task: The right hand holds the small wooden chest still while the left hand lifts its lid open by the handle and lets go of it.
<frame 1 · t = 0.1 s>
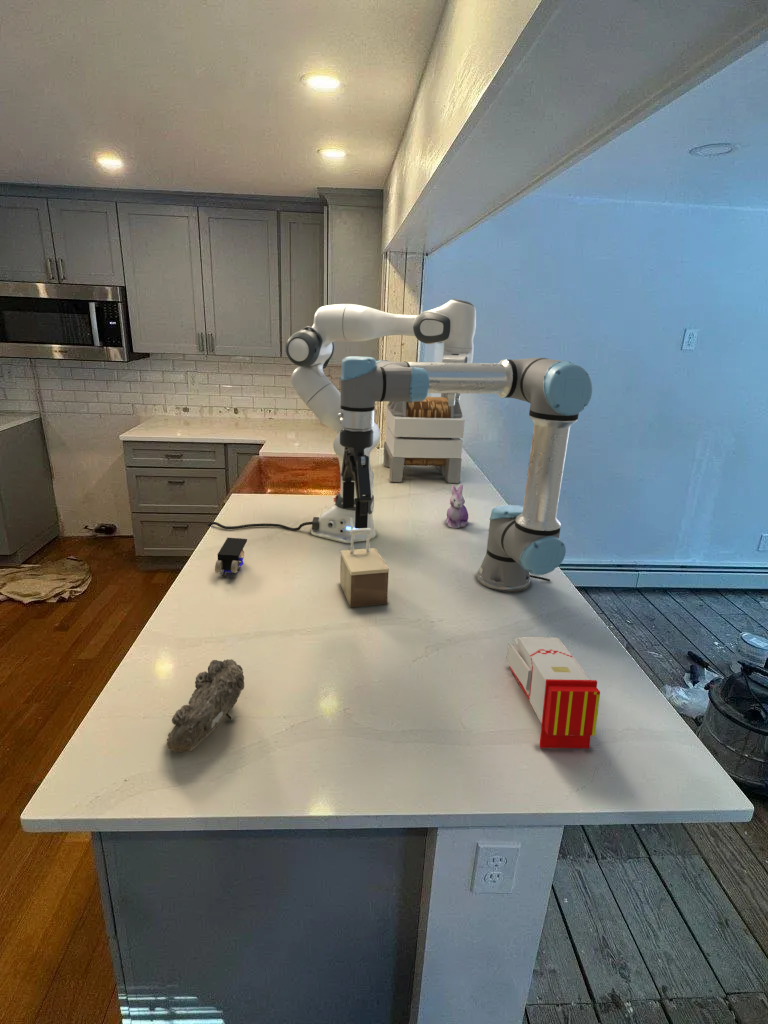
left hand: (453, 403, 174), 48 cm above the counter, tool pointing down, fingers open, 8 cm apart
right hand: (354, 517, 134), 28 cm above the counter, tool pointing down, fingers open, 13 cm apart
chest: (362, 593, 157), on the counter
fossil: (212, 717, 108), on the counter
figurine character: (232, 569, 168), on the counter
figurine: (456, 524, 211), on the counter
toy: (542, 700, 117), on the counter
transformer: (419, 473, 275), on the counter
lid: (364, 549, 153), point 13 cm above the counter, hinge at 0.0°
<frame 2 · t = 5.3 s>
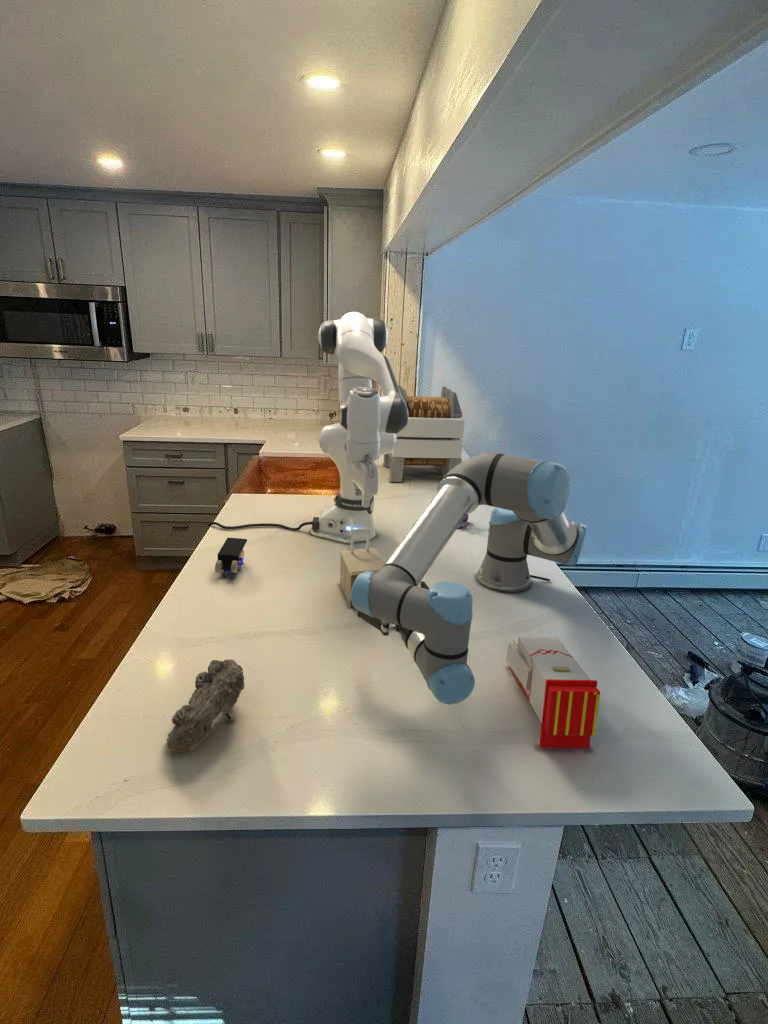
left hand: (361, 500, 153), 26 cm above the counter, tool pointing down, fingers open, 8 cm apart
right hand: (393, 589, 127), 16 cm above the counter, tool horizontal, fingers open, 13 cm apart
nothing on the counter moved.
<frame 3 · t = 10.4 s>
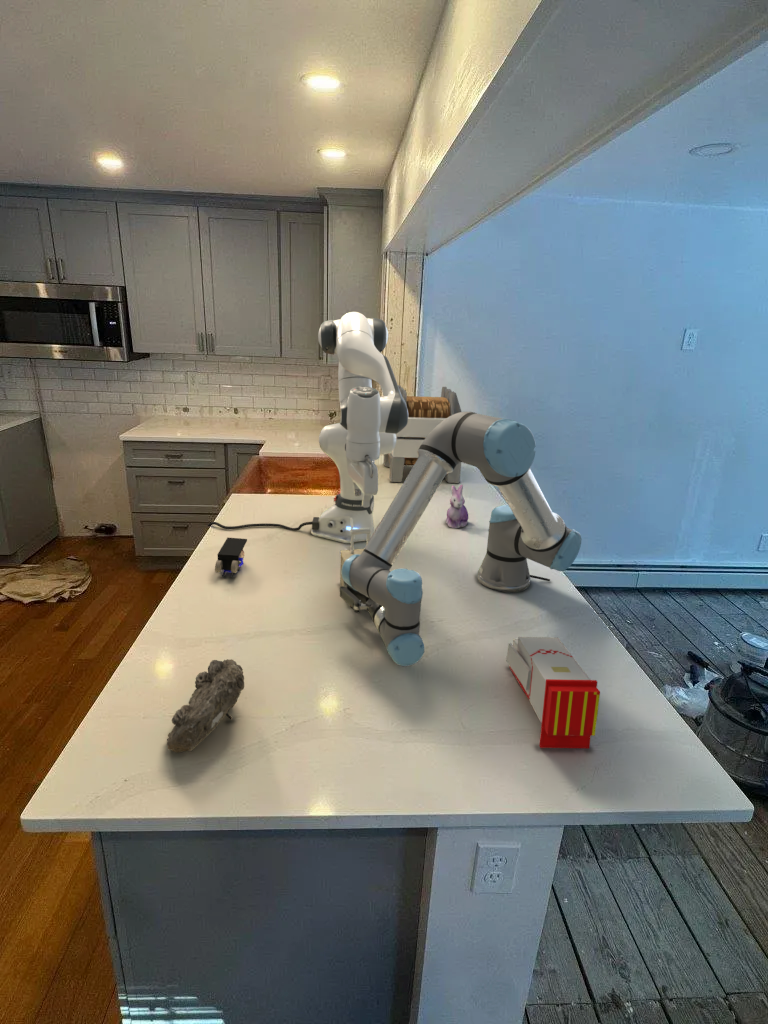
left hand: (361, 500, 153), 26 cm above the counter, tool pointing down, fingers open, 8 cm apart
right hand: (366, 575, 152), 7 cm above the counter, tool horizontal, fingers closed on chest, 10 cm apart
chest: (362, 593, 157), on the counter, touching right hand
everything else where it was.
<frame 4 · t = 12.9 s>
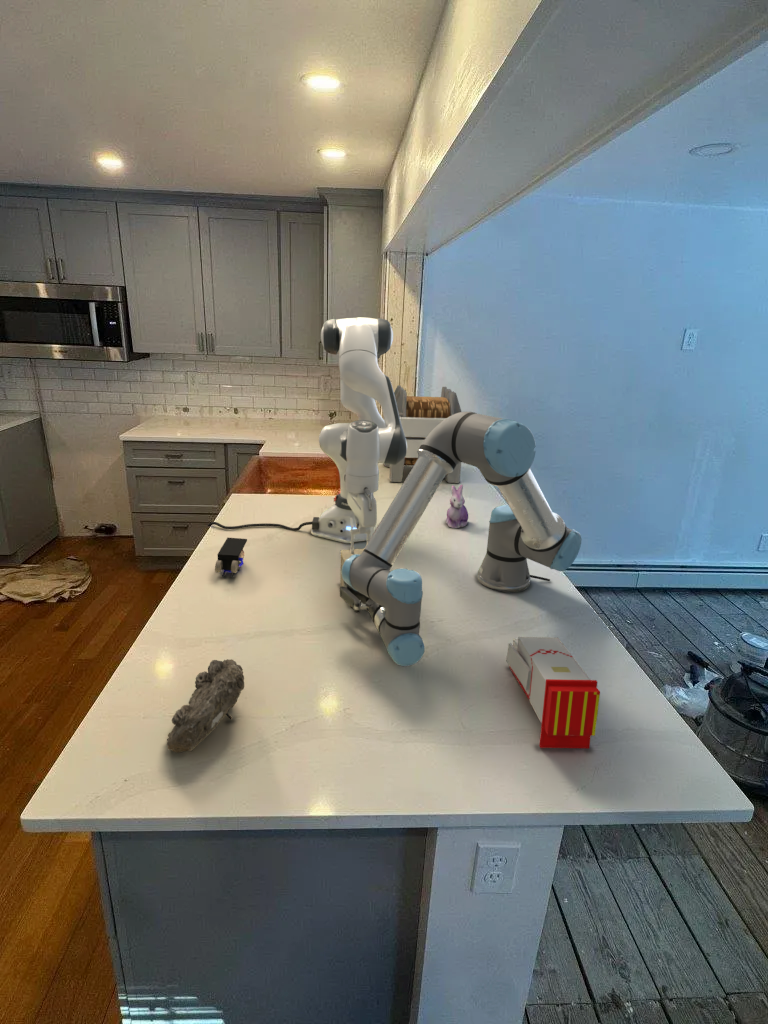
left hand: (360, 530, 156), 17 cm above the counter, tool pointing down, fingers closed on lid, 2 cm apart
right hand: (366, 575, 152), 7 cm above the counter, tool horizontal, fingers closed on chest, 10 cm apart
chest: (362, 593, 157), on the counter, touching right hand
lid: (364, 548, 153), point 13 cm above the counter, hinge at 0.4°, touching left hand
everything else where it was.
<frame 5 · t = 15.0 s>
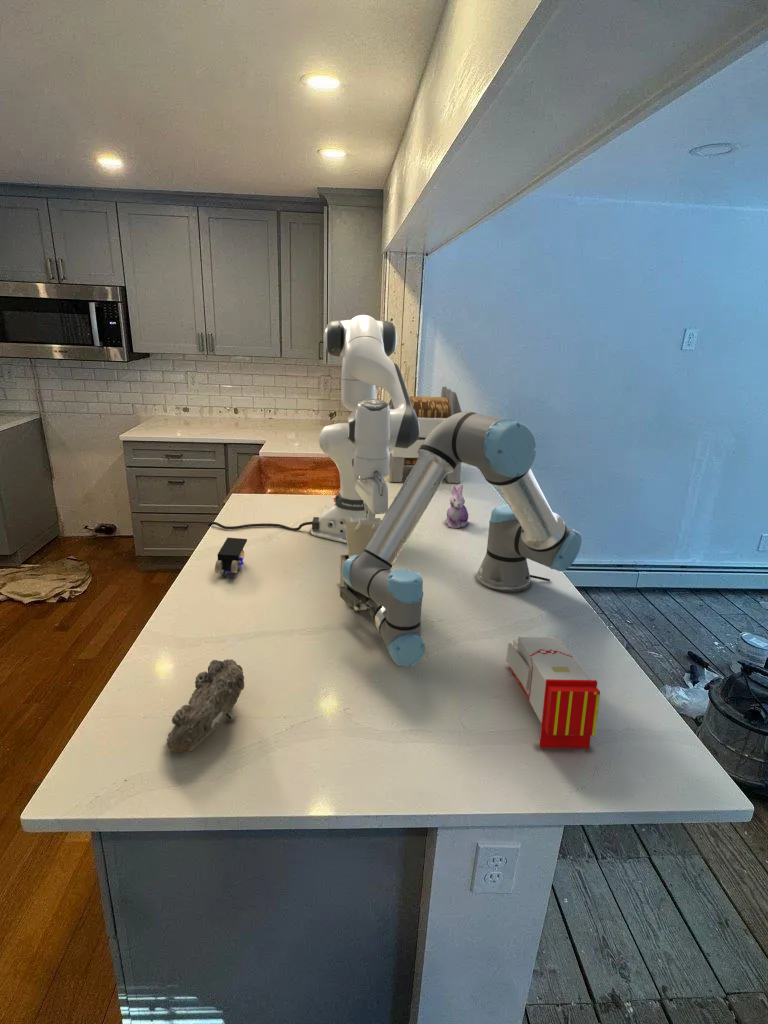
left hand: (369, 519, 145), 24 cm above the counter, tool pointing down, fingers closed, pressing on lid
right hand: (366, 575, 152), 7 cm above the counter, tool horizontal, fingers closed on chest, 10 cm apart
chest: (362, 594, 157), on the counter, touching right hand
lid: (369, 542, 147), point 18 cm above the counter, hinge at 50.3°, touching left hand
everything else where it was.
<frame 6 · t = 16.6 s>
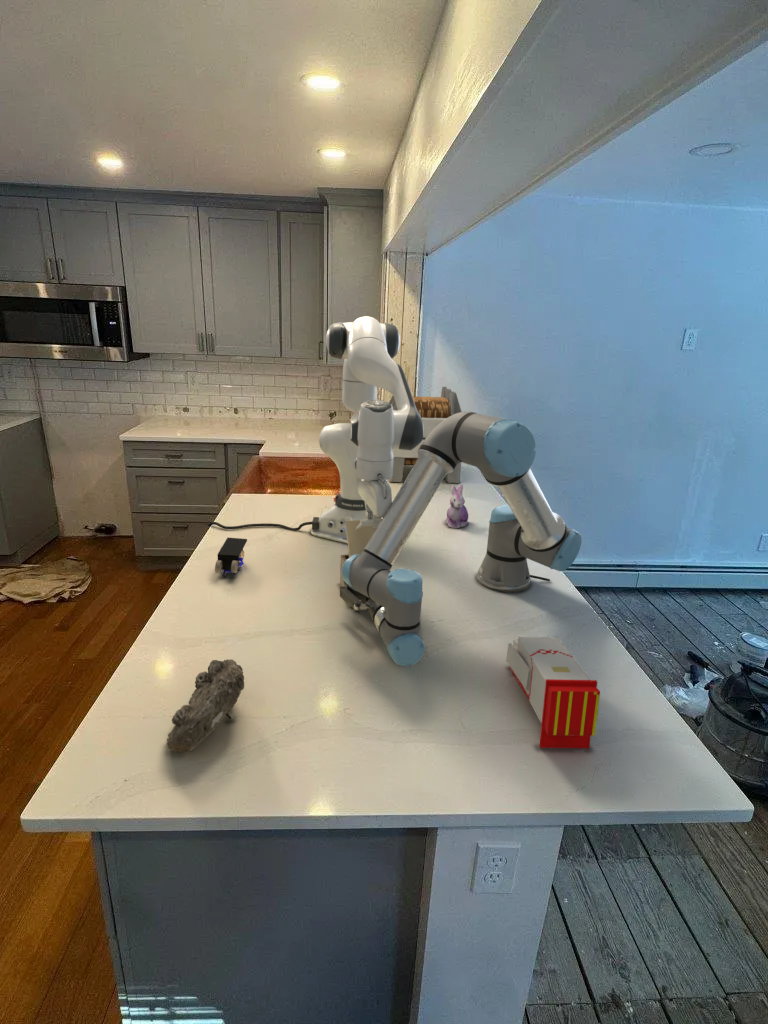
left hand: (372, 522, 142), 24 cm above the counter, tool pointing down, fingers open, 4 cm apart
right hand: (366, 575, 152), 7 cm above the counter, tool horizontal, fingers closed on chest, 10 cm apart
chest: (362, 593, 157), on the counter, touching right hand
lid: (370, 543, 146), point 18 cm above the counter, hinge at 55.8°, touching left hand
everything else where it was.
when the right hand's fingers open (7 cm above the counter, at t = 19.7 s): chest stays where it is, on the counter.
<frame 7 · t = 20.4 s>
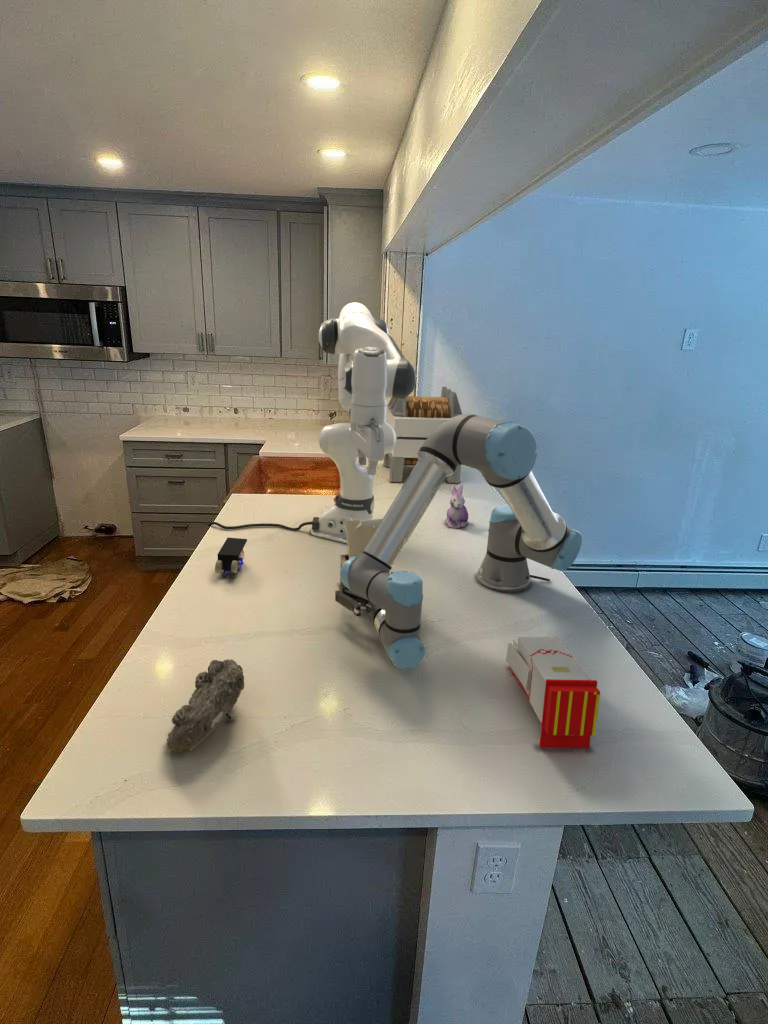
left hand: (366, 469, 145), 36 cm above the counter, tool pointing down, fingers open, 8 cm apart
right hand: (367, 578, 150), 7 cm above the counter, tool horizontal, fingers open, 13 cm apart
chest: (362, 593, 157), on the counter
lid: (369, 543, 146), point 18 cm above the counter, hinge at 54.9°
everything else where it was.
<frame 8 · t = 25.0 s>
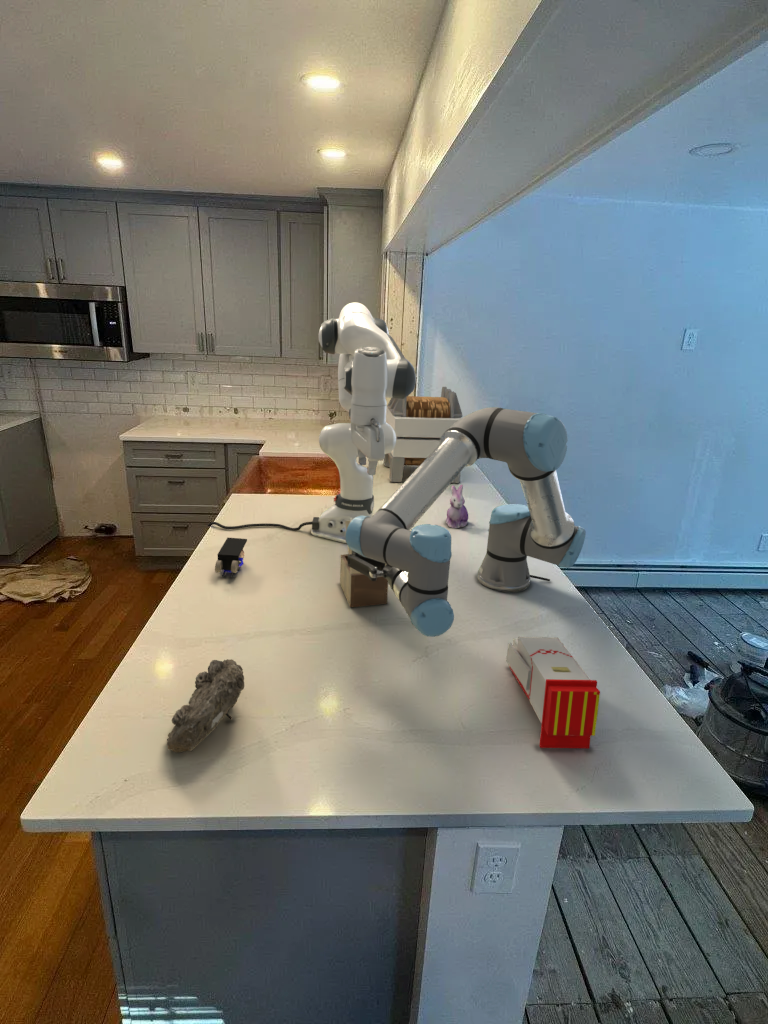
left hand: (366, 469, 145), 36 cm above the counter, tool pointing down, fingers open, 8 cm apart
right hand: (382, 543, 135), 22 cm above the counter, tool horizontal, fingers open, 13 cm apart
nothing on the counter moved.
at the end: lid at +55° (first picture: +0°); the left hand is holding nothing; the right hand is holding nothing; chest tilted 0°; chest never tilted more than 1° during the clip; chest moved 0.0 cm from its start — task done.
